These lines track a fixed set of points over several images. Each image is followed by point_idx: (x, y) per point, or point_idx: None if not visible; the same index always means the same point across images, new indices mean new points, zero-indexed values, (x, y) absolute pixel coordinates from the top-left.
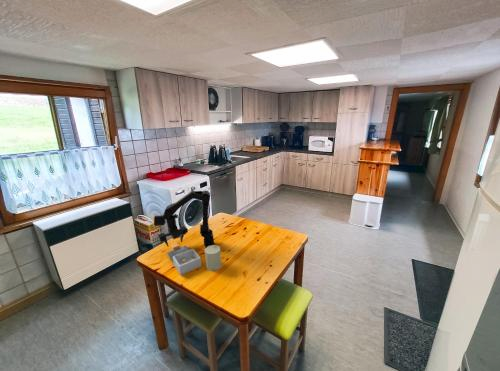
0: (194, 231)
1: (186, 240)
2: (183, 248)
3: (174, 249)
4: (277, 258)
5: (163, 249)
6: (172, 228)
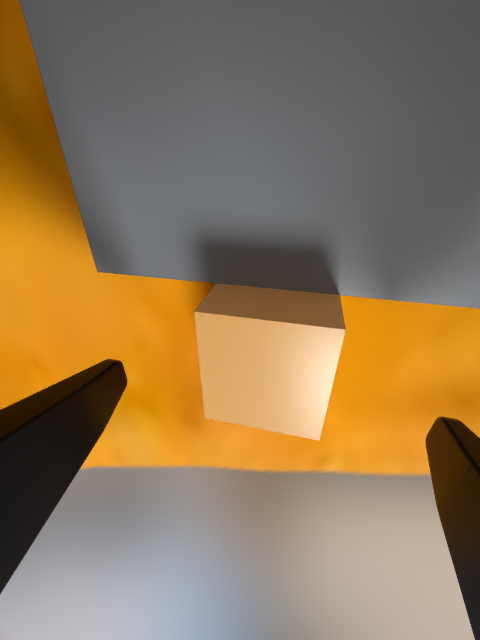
0: None
1: None
2: (150, 201)
3: (318, 295)
4: None
5: None
6: None
